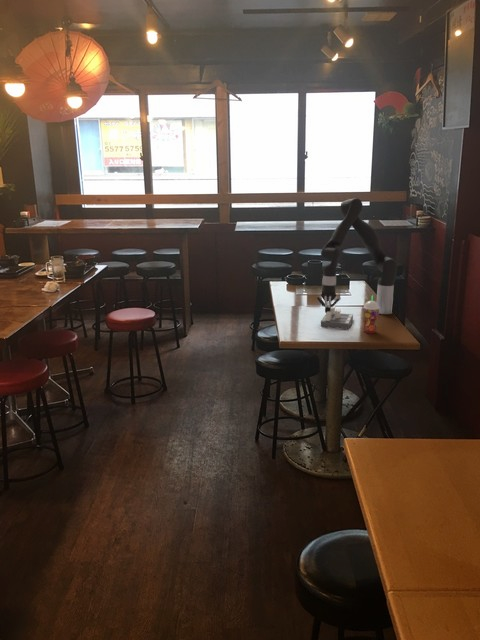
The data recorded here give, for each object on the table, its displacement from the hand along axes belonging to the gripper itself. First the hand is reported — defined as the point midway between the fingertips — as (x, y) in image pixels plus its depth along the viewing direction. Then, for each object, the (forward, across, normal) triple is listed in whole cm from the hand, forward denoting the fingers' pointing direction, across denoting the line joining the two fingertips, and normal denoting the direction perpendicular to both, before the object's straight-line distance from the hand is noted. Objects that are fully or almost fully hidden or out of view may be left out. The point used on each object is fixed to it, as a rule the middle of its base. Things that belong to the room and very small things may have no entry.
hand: (327, 313), depth 314 cm
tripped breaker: (+2, -6, 0) cm, 6 cm away
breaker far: (+2, -2, -6) cm, 7 cm away
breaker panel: (+5, -6, 0) cm, 8 cm away
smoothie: (+5, -25, +11) cm, 28 cm away
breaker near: (+2, -2, +7) cm, 7 cm away
